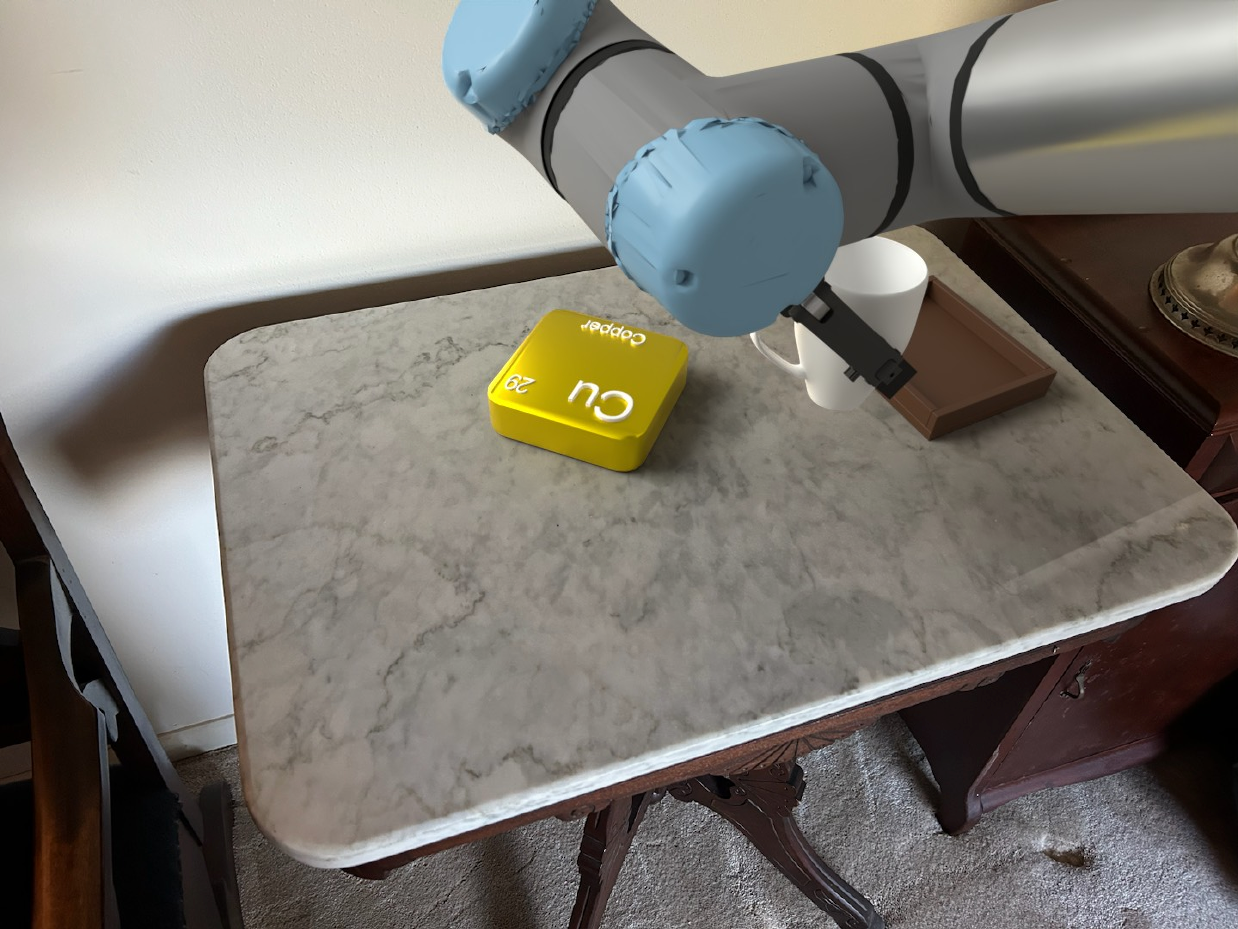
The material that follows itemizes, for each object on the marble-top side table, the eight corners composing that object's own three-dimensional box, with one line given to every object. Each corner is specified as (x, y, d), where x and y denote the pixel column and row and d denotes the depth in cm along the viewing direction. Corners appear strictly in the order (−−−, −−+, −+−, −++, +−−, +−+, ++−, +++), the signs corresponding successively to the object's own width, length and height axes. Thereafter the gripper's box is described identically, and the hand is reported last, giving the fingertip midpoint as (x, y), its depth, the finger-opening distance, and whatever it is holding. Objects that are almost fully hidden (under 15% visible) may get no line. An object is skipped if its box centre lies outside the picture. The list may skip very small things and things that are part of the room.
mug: (864, 356, 69) (898, 227, 61) (909, 422, 63) (953, 288, 55) (722, 373, 67) (738, 242, 59) (755, 442, 61) (777, 307, 53)
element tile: (691, 375, 83) (695, 336, 79) (636, 479, 73) (637, 440, 70) (553, 337, 87) (551, 298, 83) (483, 431, 77) (477, 392, 73)
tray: (1045, 395, 82) (1058, 371, 80) (928, 441, 77) (937, 417, 75) (925, 297, 92) (933, 274, 90) (815, 332, 88) (821, 309, 86)
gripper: (569, 166, 54) (749, 308, 70) (751, 357, 41) (917, 475, 58) (646, 66, 52) (812, 237, 68) (863, 235, 39) (1002, 395, 56)
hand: (860, 346), depth 63 cm, fingers closed on mug, 8 cm apart
